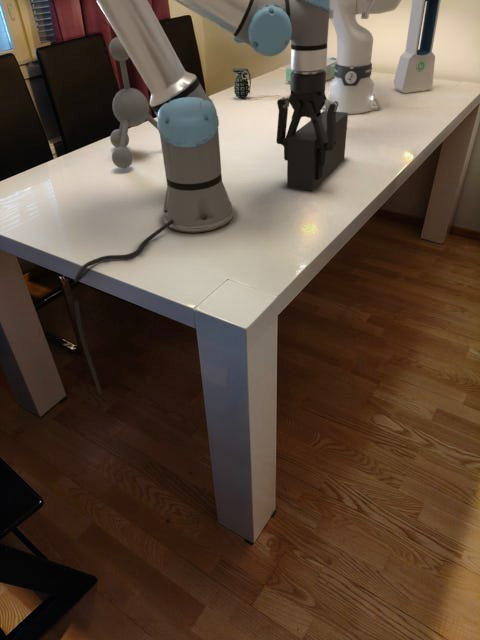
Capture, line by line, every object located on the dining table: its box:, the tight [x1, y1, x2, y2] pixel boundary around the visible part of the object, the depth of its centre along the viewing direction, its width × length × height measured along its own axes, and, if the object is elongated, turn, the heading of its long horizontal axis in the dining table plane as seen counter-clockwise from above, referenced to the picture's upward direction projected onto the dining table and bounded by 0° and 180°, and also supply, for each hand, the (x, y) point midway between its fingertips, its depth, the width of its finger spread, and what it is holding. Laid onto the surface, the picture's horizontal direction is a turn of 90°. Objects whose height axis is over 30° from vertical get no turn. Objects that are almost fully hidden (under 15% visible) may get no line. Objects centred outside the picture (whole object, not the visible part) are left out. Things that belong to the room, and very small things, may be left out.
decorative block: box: [285, 56, 337, 82], centre depth 205 cm, size 26×6×20 cm
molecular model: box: [108, 36, 158, 169], centre depth 132 cm, size 24×22×30 cm
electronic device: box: [393, 0, 442, 94], centre depth 176 cm, size 12×8×30 cm, turn 105°
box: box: [286, 110, 349, 192], centre depth 121 cm, size 23×6×12 cm, turn 152°
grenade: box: [231, 68, 252, 100], centre depth 184 cm, size 7×6×10 cm
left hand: (304, 175), depth 117 cm, fingers closed on box, 6 cm apart
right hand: (346, 18), depth 126 cm, fingers open, 8 cm apart
